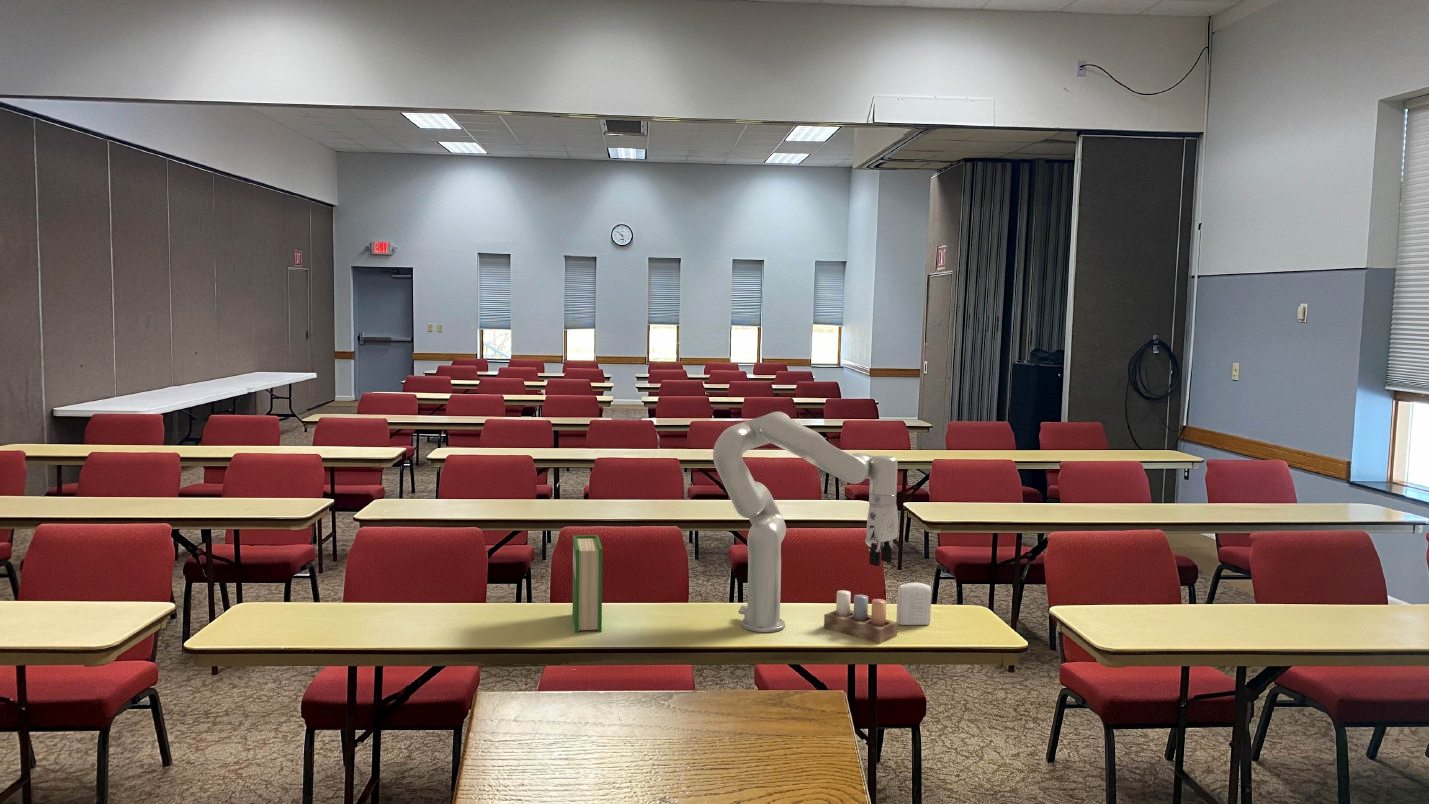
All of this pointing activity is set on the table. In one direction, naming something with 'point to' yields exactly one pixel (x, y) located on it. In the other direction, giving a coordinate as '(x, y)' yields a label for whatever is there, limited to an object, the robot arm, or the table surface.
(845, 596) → the white peg
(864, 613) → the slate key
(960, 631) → the table surface
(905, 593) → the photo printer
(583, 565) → the hardback book
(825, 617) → the wooden peg holder
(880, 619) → the salmon orange cylinder
